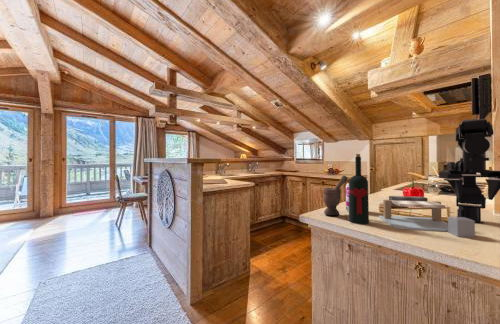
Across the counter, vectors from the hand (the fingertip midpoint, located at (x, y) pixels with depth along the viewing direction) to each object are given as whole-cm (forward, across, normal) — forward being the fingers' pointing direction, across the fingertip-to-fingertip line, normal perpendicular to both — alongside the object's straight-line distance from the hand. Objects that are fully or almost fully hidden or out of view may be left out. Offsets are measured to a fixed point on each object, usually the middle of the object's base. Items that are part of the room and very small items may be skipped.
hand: (474, 199), depth 78 cm
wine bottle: (+13, +35, -11) cm, 39 cm away
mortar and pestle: (+13, +43, -25) cm, 51 cm away
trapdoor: (+4, +12, -18) cm, 22 cm away
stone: (+13, +4, 0) cm, 14 cm away
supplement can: (+13, +32, -34) cm, 49 cm away
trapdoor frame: (+13, +12, -12) cm, 21 cm away
